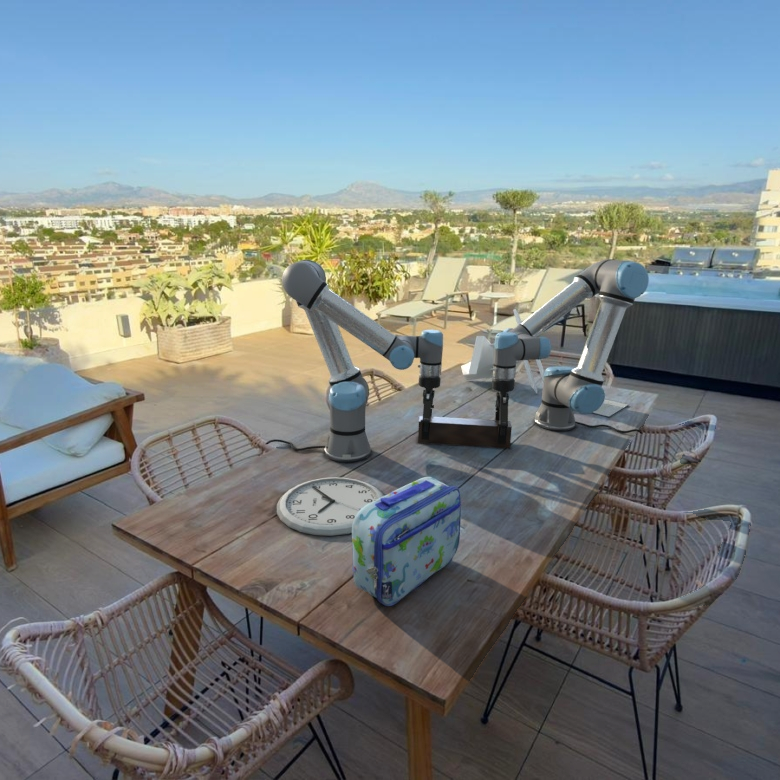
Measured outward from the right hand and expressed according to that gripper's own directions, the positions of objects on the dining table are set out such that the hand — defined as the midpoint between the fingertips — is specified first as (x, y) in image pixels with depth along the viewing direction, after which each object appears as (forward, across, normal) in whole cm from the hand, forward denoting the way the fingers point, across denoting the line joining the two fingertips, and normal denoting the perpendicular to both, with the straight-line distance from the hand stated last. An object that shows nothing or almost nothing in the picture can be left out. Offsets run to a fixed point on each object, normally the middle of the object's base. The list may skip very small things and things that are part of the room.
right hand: (499, 435), depth 185 cm
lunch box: (+2, +79, -26) cm, 83 cm away
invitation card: (+4, -48, +48) cm, 68 cm away
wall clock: (+2, +50, -49) cm, 71 cm away
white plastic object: (+4, -70, +6) cm, 71 cm away
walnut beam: (+3, +1, -13) cm, 13 cm away
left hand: (0, 0, -26) cm, 26 cm away
